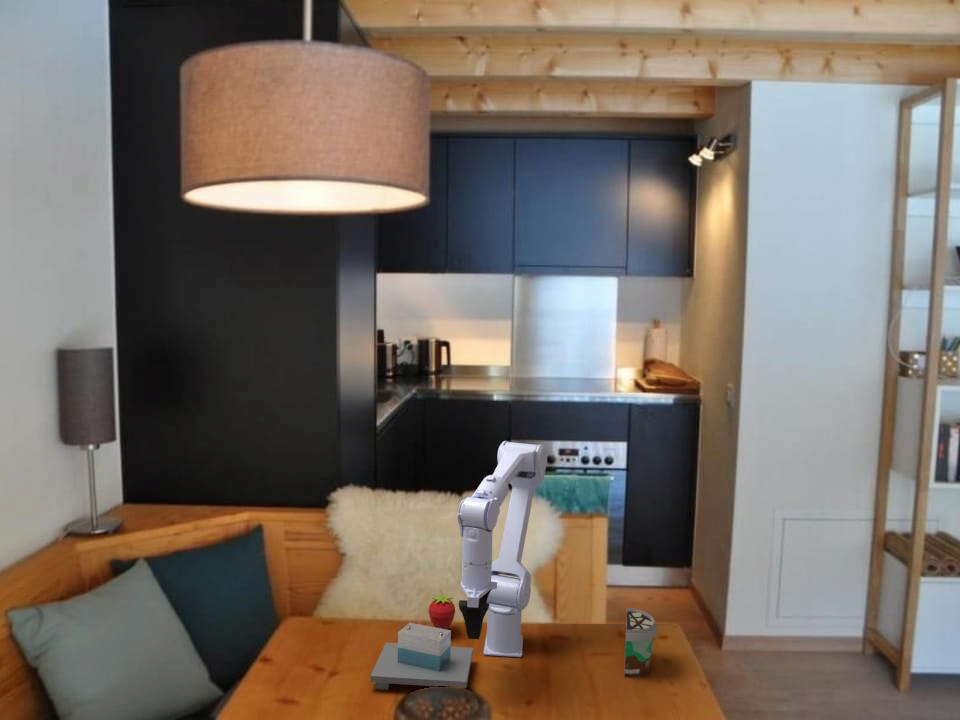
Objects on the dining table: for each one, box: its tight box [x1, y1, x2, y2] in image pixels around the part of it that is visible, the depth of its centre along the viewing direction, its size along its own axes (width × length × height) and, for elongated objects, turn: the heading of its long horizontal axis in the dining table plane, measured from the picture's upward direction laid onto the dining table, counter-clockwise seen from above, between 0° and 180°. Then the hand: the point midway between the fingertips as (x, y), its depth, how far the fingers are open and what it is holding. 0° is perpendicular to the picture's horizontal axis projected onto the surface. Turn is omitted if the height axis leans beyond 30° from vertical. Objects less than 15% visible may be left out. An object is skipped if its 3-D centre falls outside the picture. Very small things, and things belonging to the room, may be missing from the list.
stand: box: [369, 642, 474, 691], centre depth 145 cm, size 14×18×3 cm
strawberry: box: [428, 589, 456, 630], centre depth 163 cm, size 6×8×10 cm
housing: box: [397, 622, 452, 672], centre depth 144 cm, size 5×9×6 cm, turn 69°
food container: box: [623, 607, 658, 678], centre depth 150 cm, size 12×6×10 cm, turn 168°
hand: (475, 629), depth 142 cm, fingers open, 7 cm apart
